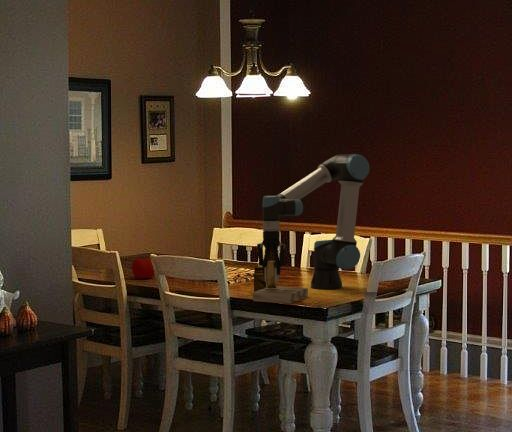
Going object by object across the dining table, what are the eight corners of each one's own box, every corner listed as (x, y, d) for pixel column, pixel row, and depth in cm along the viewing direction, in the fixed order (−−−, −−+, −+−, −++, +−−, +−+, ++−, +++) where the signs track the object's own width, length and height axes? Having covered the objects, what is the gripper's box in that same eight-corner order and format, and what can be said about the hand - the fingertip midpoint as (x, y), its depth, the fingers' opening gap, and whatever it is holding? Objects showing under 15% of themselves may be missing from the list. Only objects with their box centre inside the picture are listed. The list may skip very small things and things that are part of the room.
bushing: (269, 286, 452) (269, 260, 451) (278, 287, 450) (277, 261, 449) (265, 288, 448) (264, 261, 447) (274, 288, 446) (273, 262, 445)
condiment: (266, 293, 464) (265, 268, 463) (248, 293, 465) (248, 268, 464) (268, 291, 471) (268, 266, 470) (250, 291, 472) (250, 266, 471)
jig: (272, 294, 461) (272, 286, 460) (307, 296, 453) (307, 288, 452) (253, 301, 443) (252, 292, 442) (289, 303, 435) (289, 294, 434)
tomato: (137, 276, 527) (136, 255, 526) (160, 277, 523) (160, 255, 523) (128, 280, 515) (127, 257, 514) (152, 280, 512) (151, 258, 511)
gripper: (250, 230, 448) (250, 281, 449) (285, 231, 440) (285, 283, 442) (257, 228, 454) (258, 279, 456) (292, 229, 447) (292, 281, 449)
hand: (271, 281), depth 449 cm, fingers closed on bushing, 4 cm apart
